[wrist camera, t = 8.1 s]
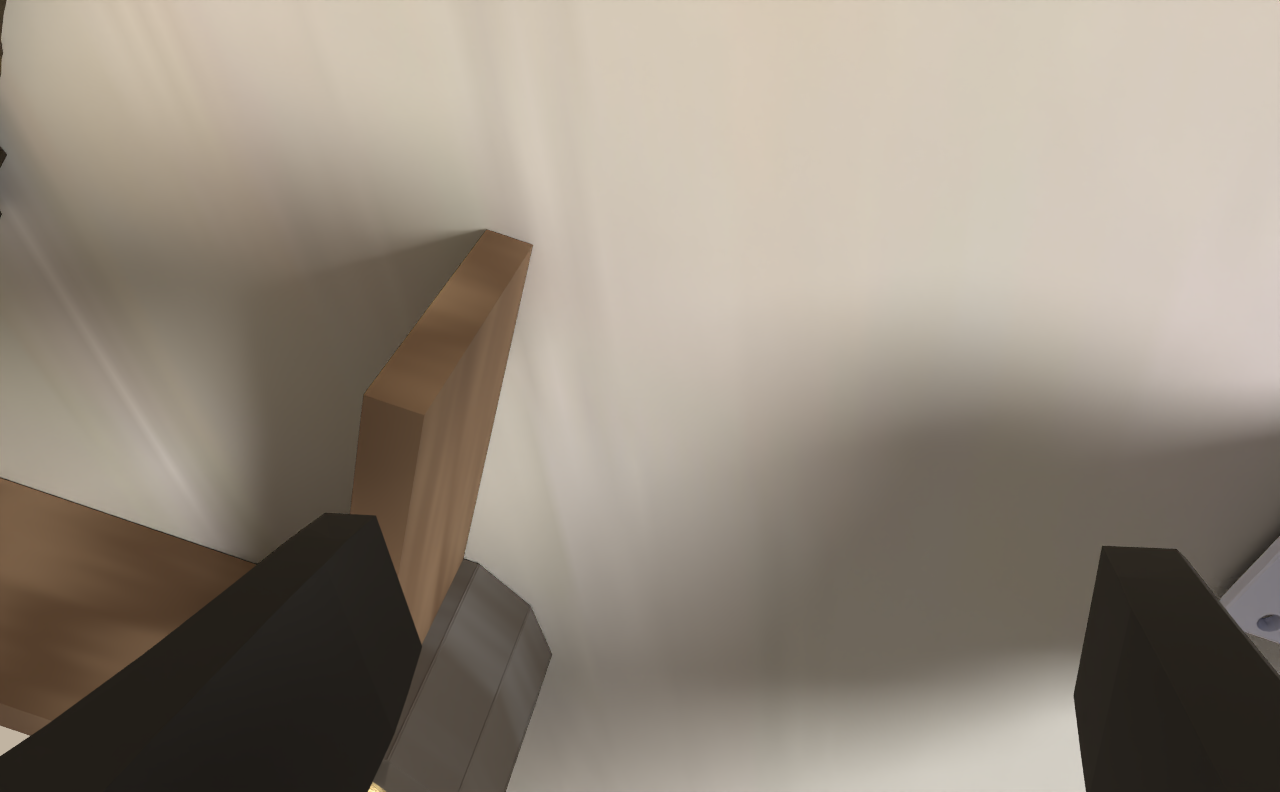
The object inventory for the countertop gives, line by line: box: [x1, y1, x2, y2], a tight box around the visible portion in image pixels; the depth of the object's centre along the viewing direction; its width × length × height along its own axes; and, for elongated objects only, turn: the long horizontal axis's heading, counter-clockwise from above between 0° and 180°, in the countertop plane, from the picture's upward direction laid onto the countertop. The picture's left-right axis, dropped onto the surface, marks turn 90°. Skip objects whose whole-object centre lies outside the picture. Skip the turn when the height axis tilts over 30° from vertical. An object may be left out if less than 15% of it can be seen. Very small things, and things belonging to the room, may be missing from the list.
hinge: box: [0, 230, 552, 792], centre depth 23 cm, size 17×17×6 cm
